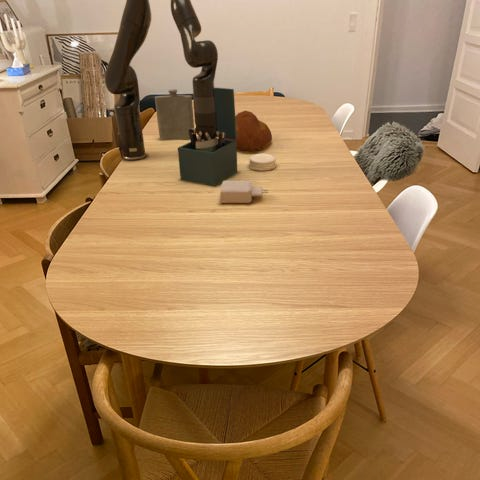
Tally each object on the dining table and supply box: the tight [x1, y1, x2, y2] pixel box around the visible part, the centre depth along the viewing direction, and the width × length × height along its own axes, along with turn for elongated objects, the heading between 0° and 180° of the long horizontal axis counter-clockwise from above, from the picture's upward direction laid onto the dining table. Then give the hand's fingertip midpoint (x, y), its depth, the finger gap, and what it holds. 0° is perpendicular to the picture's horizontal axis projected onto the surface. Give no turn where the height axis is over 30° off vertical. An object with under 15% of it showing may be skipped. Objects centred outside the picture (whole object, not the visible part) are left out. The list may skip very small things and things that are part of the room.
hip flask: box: [154, 88, 195, 141], centre depth 205 cm, size 16×4×20 cm, turn 88°
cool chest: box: [177, 137, 238, 187], centre depth 168 cm, size 16×15×11 cm
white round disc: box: [248, 153, 277, 172], centre depth 176 cm, size 10×10×4 cm
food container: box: [196, 137, 218, 153], centre depth 166 cm, size 12×6×10 cm, turn 168°
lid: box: [214, 86, 237, 140], centre depth 166 cm, size 16×15×6 cm
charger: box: [220, 180, 269, 204], centre depth 152 cm, size 5×9×15 cm
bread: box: [225, 110, 273, 152], centre depth 199 cm, size 21×33×12 cm, turn 4°
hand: (208, 160), depth 168 cm, fingers closed on food container, 5 cm apart
